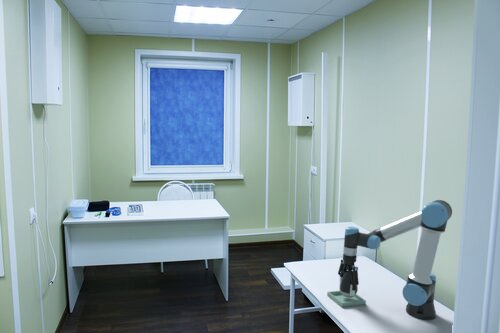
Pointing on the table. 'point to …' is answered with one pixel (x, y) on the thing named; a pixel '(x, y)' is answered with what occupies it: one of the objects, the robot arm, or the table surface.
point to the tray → (346, 299)
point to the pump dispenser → (346, 285)
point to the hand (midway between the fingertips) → (346, 291)
